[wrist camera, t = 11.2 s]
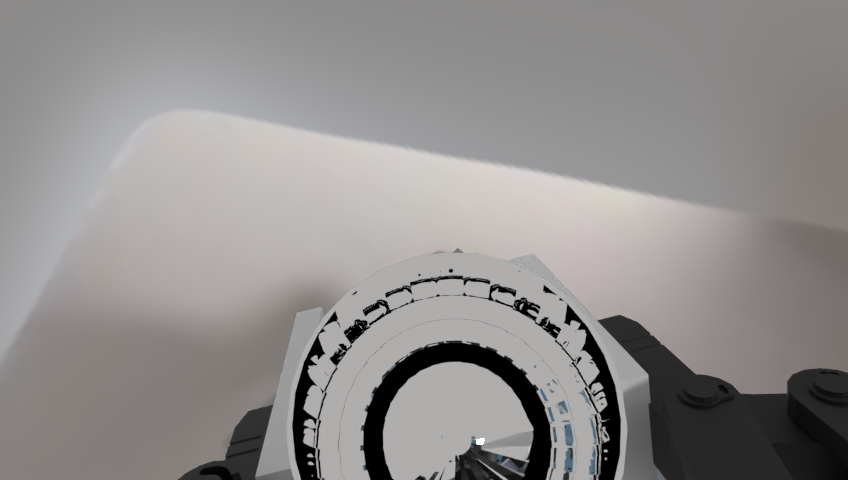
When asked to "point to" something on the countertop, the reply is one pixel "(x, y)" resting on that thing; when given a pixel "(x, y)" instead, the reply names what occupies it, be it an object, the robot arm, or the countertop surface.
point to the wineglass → (456, 380)
